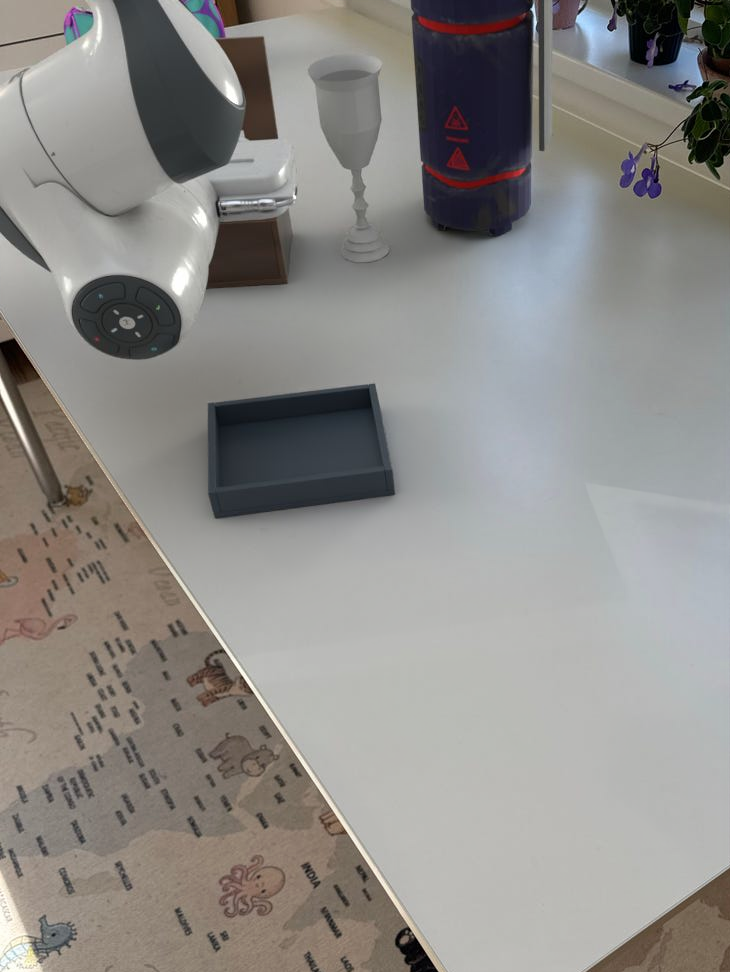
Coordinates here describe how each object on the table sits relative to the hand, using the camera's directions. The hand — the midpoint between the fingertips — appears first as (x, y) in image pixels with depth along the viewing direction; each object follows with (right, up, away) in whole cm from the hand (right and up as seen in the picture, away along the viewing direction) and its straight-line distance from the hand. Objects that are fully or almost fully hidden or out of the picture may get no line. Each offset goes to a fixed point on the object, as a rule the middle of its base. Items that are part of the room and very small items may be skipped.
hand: (181, 142), depth 89 cm
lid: (-1, +11, +15) cm, 19 cm away
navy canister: (+26, +4, +26) cm, 37 cm away
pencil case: (-21, +38, +59) cm, 73 cm away
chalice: (+13, -1, +21) cm, 25 cm away
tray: (+11, -28, -3) cm, 30 cm away
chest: (-1, -3, +21) cm, 21 cm away
